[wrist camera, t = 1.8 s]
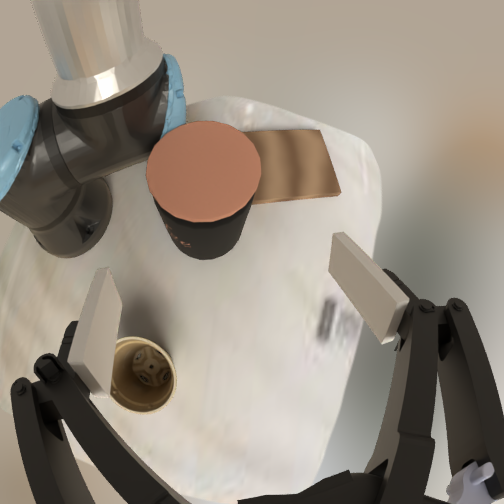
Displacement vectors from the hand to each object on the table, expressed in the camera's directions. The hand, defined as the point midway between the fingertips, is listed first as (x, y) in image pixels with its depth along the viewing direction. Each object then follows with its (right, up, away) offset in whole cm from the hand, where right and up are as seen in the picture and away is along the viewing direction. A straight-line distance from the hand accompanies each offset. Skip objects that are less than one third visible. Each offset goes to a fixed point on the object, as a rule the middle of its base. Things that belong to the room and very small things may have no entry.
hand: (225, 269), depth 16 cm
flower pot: (-13, -15, +20) cm, 28 cm away
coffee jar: (-5, +5, +26) cm, 27 cm away
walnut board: (+8, +16, +30) cm, 35 cm away
